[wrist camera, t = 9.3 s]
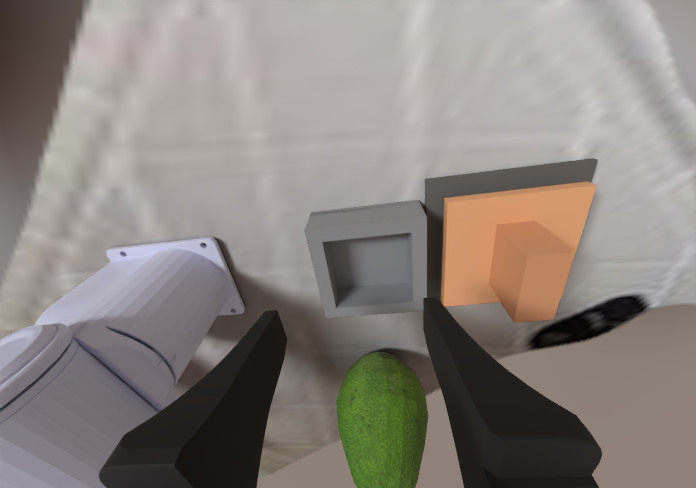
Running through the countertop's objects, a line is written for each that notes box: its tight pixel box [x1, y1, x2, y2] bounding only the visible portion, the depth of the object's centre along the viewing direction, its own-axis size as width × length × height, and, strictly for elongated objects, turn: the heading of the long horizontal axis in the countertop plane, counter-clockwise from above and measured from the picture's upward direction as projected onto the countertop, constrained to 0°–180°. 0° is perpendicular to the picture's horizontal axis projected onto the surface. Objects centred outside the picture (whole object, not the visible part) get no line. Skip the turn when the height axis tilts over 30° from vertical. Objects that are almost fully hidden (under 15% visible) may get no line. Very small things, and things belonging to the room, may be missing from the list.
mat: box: [425, 159, 598, 301], centre depth 22 cm, size 11×11×1 cm
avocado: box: [337, 352, 428, 488], centre depth 24 cm, size 8×8×12 cm
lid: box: [441, 182, 597, 322], centre depth 19 cm, size 9×9×6 cm
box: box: [305, 200, 427, 318], centre depth 22 cm, size 8×8×3 cm
